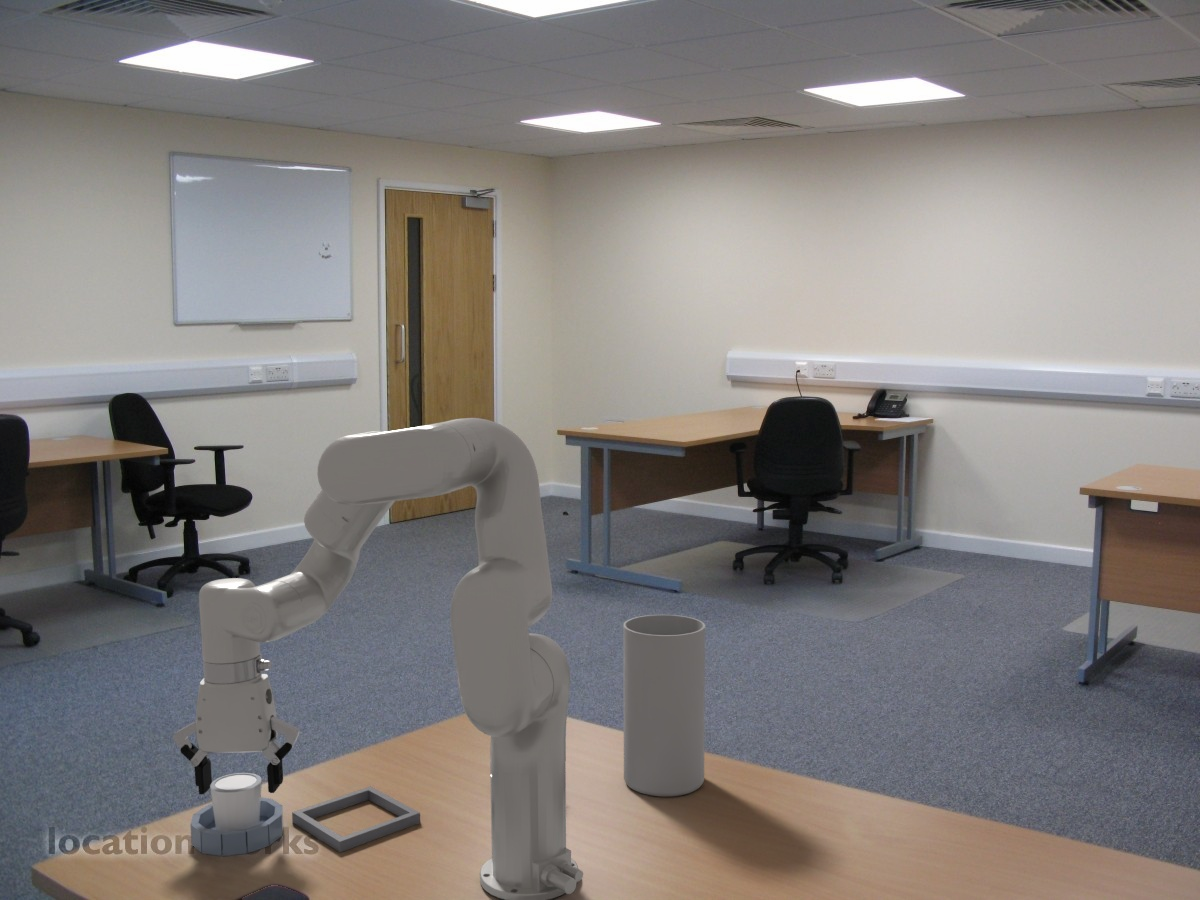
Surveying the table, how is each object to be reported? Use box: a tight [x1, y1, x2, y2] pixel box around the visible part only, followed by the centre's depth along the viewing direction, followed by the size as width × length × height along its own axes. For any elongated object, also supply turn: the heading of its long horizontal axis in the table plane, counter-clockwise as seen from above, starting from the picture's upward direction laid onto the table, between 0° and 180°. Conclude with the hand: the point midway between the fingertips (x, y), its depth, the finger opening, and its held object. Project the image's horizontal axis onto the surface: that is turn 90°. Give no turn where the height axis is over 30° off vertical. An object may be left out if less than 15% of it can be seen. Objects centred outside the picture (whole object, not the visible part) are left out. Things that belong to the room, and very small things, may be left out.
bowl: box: [190, 796, 284, 857], centre depth 154 cm, size 12×12×3 cm
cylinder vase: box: [622, 614, 706, 798], centre depth 171 cm, size 12×12×25 cm
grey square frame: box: [291, 785, 421, 853], centre depth 158 cm, size 13×13×2 cm
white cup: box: [209, 772, 263, 831], centre depth 154 cm, size 7×7×7 cm
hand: (240, 789), depth 154 cm, fingers open, 9 cm apart
